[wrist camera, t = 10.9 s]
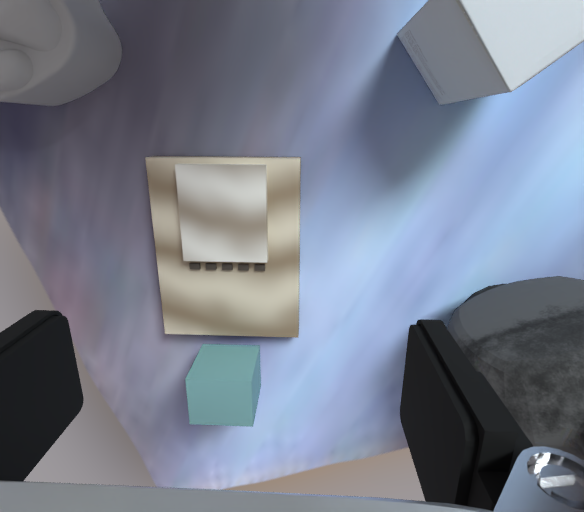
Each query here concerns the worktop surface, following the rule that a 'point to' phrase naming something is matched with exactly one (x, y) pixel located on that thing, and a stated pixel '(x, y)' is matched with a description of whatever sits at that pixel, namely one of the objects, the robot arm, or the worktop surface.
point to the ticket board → (227, 243)
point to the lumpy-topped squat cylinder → (55, 50)
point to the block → (224, 385)
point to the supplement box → (489, 43)
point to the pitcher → (531, 354)
